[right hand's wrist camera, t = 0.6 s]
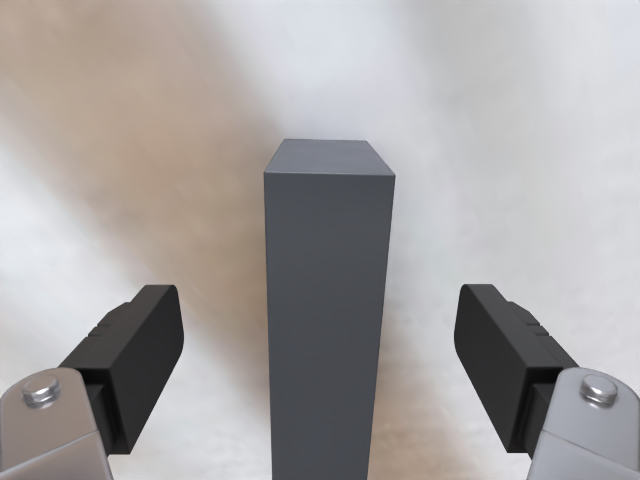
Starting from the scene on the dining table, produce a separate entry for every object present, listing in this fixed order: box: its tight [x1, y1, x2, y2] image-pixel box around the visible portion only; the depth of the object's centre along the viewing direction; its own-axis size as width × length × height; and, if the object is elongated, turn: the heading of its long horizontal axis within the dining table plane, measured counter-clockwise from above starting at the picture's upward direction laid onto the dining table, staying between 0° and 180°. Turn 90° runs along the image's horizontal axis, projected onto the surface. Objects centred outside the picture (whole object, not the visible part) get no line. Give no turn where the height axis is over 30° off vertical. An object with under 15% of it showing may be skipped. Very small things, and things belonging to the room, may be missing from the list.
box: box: [264, 139, 395, 480], centre depth 27 cm, size 25×6×11 cm, turn 179°
